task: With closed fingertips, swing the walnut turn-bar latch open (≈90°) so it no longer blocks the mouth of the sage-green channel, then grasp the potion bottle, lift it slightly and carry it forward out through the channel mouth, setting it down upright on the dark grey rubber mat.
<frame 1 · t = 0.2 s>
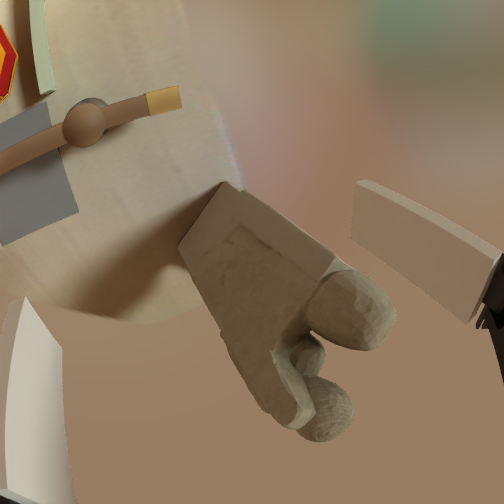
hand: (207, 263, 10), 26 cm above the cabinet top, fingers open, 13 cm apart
metal pivot base: (90, 119, 26), on the cabinet top
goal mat: (18, 177, 25), on the cabinet top
sculpture: (216, 229, 41), on the cabinet top
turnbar: (60, 134, 21), point 6 cm above the cabinet top, hinge at 0.0°
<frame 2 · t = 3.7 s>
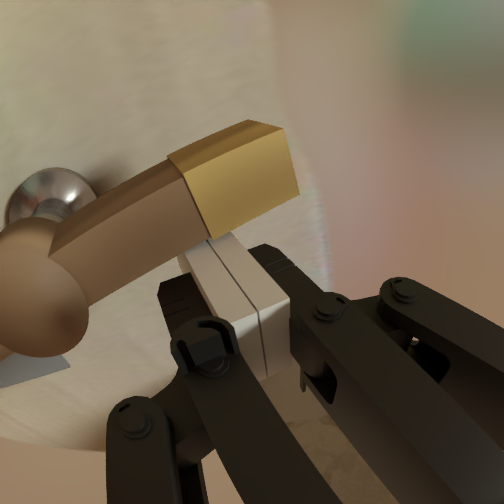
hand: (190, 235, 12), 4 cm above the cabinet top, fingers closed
metal pivot base: (55, 217, 12), on the cabinet top
sculpture: (284, 353, 27), on the cabinet top
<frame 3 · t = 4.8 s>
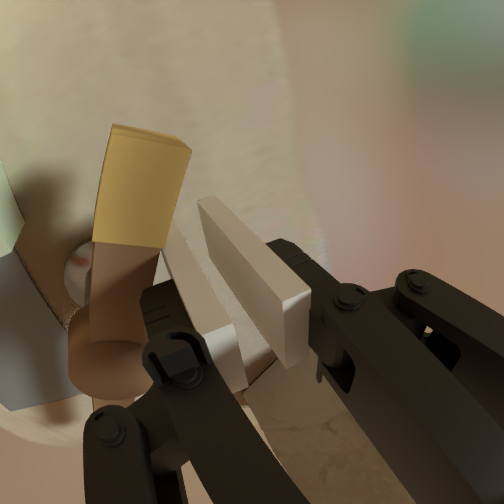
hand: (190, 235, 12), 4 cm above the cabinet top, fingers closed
metal pivot base: (104, 274, 16), on the cabinet top
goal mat: (5, 351, 15), on the cabinet top
sculpture: (290, 366, 31), on the cabinet top
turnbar: (110, 385, 12), point 6 cm above the cabinet top, hinge at 61.6°, touching gripper
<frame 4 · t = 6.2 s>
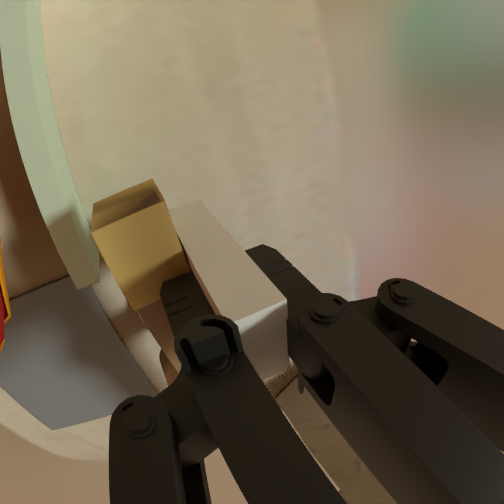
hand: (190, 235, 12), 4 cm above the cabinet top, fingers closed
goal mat: (58, 372, 17), on the cabinet top
sculpture: (317, 371, 33), on the cabinet top
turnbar: (218, 391, 15), point 6 cm above the cabinet top, hinge at 94.1°, touching gripper
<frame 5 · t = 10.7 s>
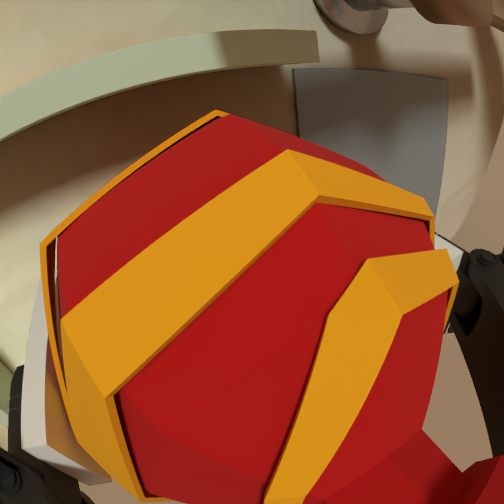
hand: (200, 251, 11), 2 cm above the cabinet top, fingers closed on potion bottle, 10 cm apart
potion bottle: (183, 224, 13), on the cabinet top, touching gripper
channel: (103, 255, 12), on the cabinet top
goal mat: (391, 165, 17), on the cabinet top
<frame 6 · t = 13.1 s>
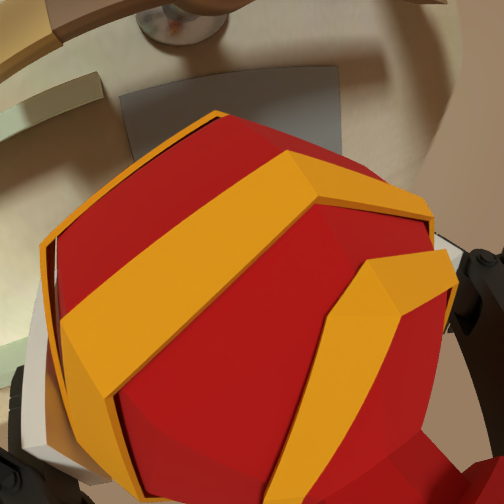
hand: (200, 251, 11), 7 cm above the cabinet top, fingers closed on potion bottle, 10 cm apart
potion bottle: (182, 224, 13), point 4 cm above the cabinet top, touching gripper
channel: (4, 256, 13), on the cabinet top
metal pivot base: (181, 6, 11), on the cabinet top
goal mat: (255, 165, 18), on the cabinet top
when the fingers open (3 cm above the cabinet top, at t = 15.6 s): potion bottle stays where it is, resting on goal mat.
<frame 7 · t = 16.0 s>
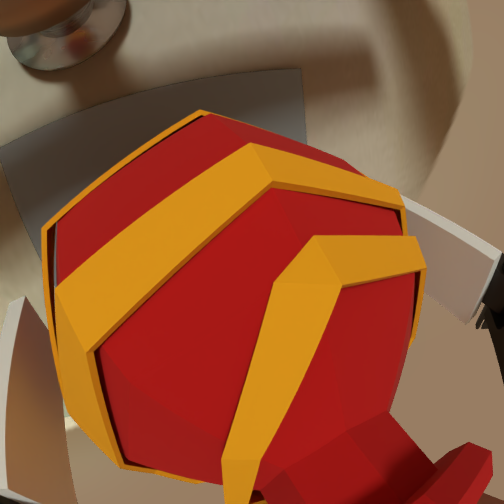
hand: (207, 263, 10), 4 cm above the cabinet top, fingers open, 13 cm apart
potion bottle: (178, 217, 13), resting on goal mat
metal pivot base: (65, 14, 7), on the cabinet top
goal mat: (179, 217, 13), on the cabinet top
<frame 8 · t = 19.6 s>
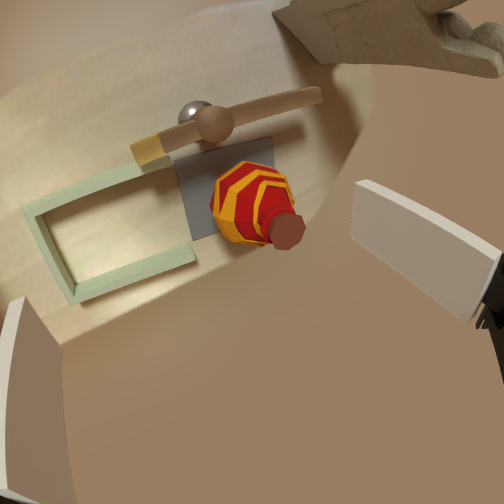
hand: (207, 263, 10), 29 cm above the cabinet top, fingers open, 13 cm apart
potion bottle: (230, 187, 41), resting on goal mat
channel: (114, 226, 36), on the cabinet top
metal pivot base: (197, 119, 34), on the cabinet top
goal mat: (231, 188, 41), on the cabinet top
sculpture: (312, 28, 33), on the cabinet top
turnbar: (233, 116, 30), point 6 cm above the cabinet top, hinge at 97.1°
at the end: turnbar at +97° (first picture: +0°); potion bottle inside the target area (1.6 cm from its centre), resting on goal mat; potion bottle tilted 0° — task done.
